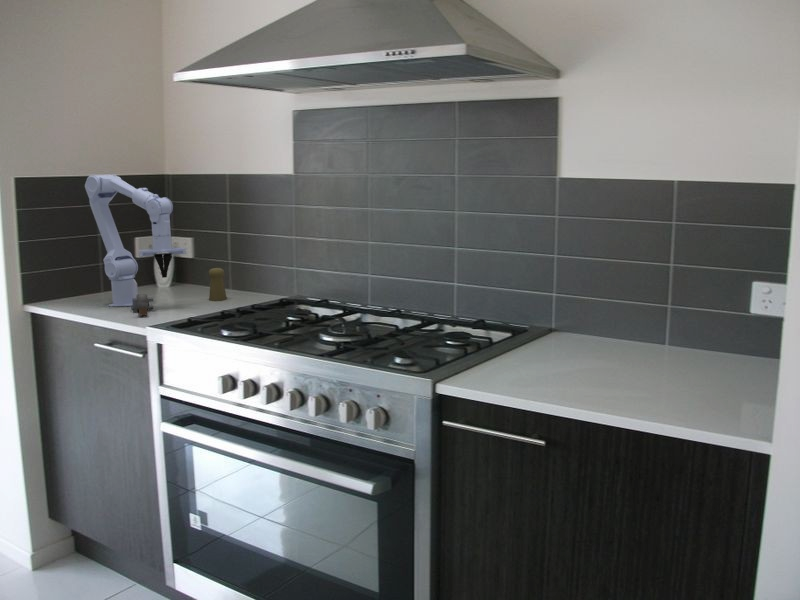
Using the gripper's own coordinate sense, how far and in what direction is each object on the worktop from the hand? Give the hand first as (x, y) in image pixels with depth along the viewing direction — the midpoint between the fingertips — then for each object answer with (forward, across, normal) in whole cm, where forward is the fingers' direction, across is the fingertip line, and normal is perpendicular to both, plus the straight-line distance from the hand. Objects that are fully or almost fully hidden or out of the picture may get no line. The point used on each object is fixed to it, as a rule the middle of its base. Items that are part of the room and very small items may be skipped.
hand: (164, 277), depth 261 cm
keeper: (+10, -7, -2) cm, 13 cm away
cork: (+11, +18, +10) cm, 23 cm away
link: (+10, -8, -4) cm, 13 cm away
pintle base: (+10, -7, +3) cm, 13 cm away
